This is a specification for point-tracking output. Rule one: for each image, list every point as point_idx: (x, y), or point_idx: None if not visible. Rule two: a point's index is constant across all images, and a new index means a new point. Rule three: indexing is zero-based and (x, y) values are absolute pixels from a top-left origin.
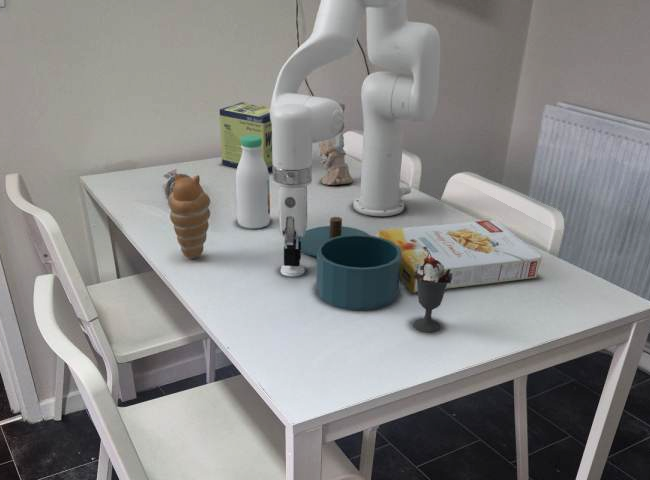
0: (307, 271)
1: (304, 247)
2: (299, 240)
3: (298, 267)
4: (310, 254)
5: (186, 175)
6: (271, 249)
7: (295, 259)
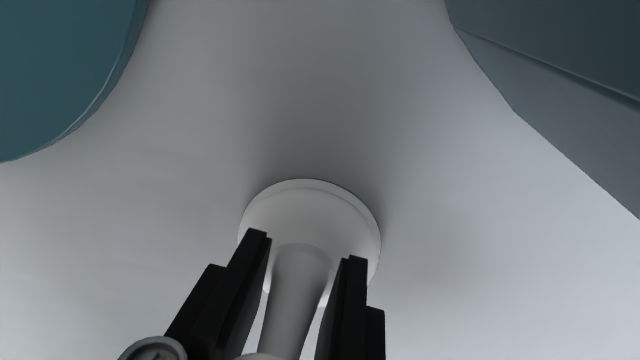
0: (319, 159)
1: (9, 134)
2: (186, 353)
3: (326, 234)
4: (97, 106)
5: None
6: (36, 278)
7: (378, 325)
